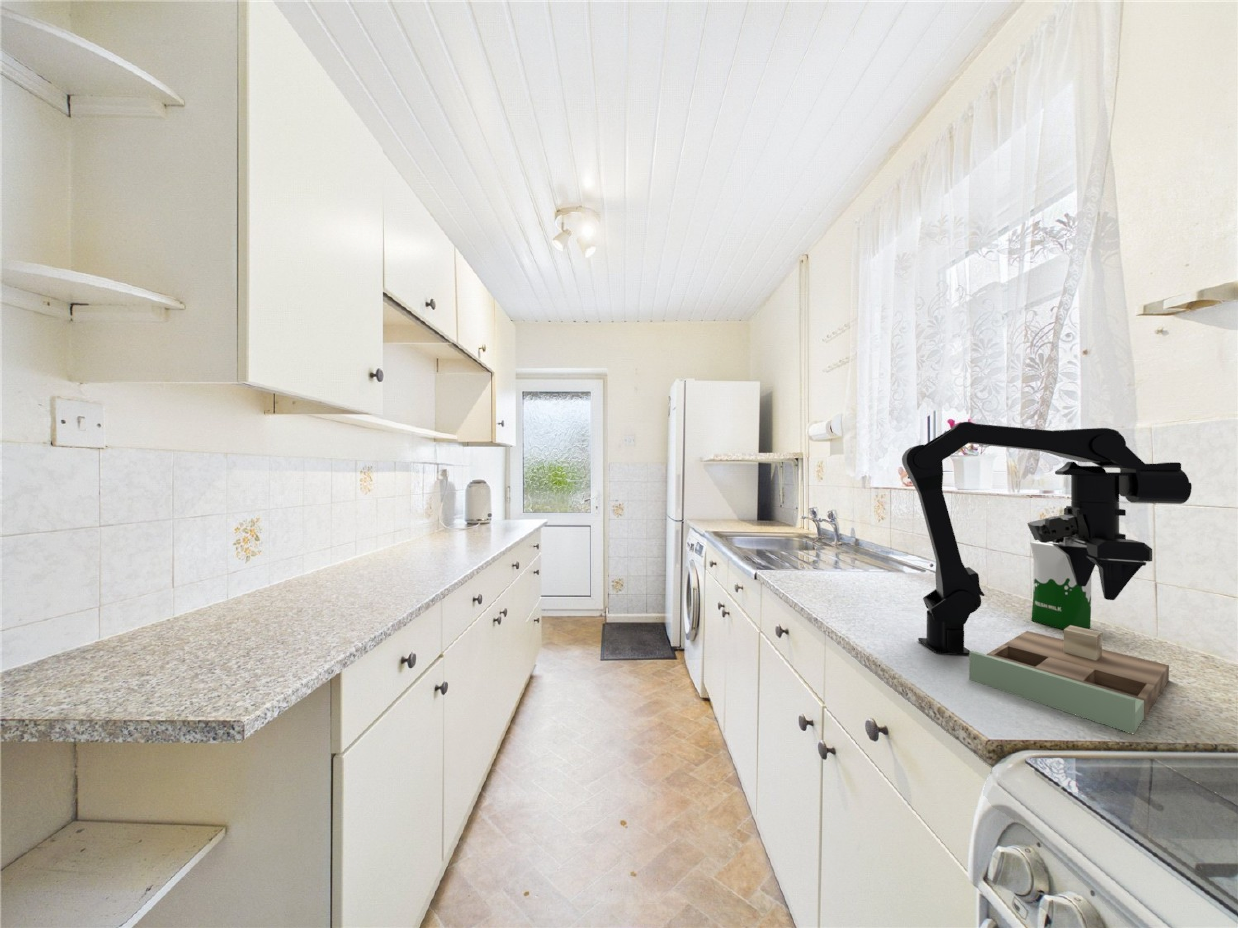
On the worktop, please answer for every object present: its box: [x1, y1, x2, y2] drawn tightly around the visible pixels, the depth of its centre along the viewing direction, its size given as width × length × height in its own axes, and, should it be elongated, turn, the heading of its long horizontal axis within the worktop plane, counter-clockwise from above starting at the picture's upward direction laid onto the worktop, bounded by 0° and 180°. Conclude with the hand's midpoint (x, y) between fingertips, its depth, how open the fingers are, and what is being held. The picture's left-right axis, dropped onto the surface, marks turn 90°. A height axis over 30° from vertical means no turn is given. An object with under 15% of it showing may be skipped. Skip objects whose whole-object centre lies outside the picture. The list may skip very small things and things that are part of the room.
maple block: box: [1063, 625, 1103, 661], centre depth 79 cm, size 4×4×4 cm
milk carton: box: [1029, 540, 1092, 631], centre depth 101 cm, size 9×9×20 cm
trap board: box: [985, 630, 1170, 718], centre depth 76 cm, size 21×18×2 cm
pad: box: [968, 650, 1145, 734], centre depth 69 cm, size 7×18×4 cm, turn 33°
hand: (1094, 592), depth 78 cm, fingers open, 9 cm apart
